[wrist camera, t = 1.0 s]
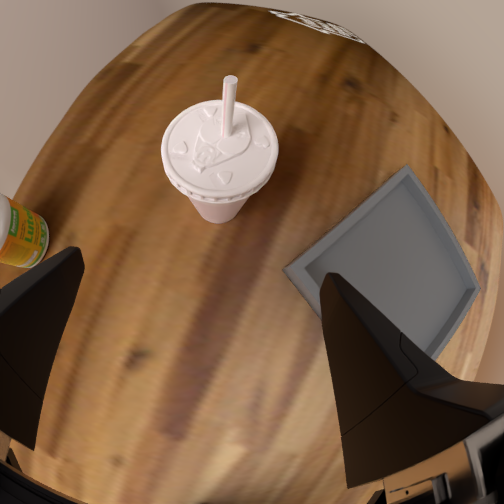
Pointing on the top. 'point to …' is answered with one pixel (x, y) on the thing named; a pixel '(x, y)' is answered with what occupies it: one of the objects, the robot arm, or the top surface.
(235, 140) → the smoothie
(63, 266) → the robot arm
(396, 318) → the tray
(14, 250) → the supplement bottle
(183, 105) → the top surface
